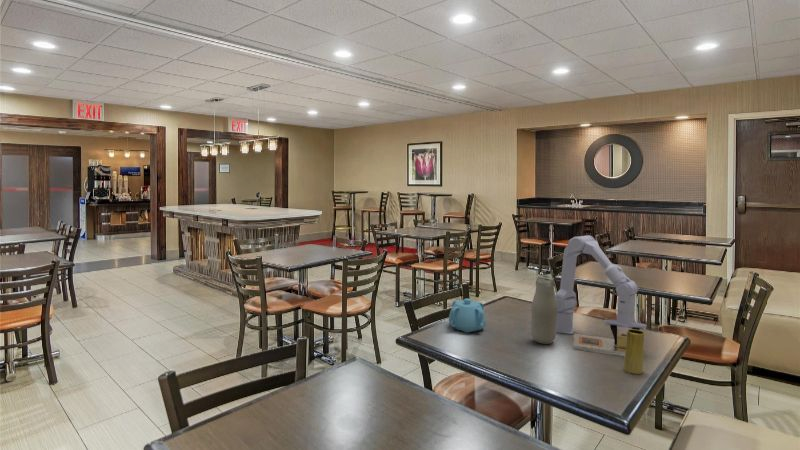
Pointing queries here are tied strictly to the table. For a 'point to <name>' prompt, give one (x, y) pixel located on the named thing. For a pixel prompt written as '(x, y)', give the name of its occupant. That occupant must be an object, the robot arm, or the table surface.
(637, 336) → the vase
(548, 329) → the glass bottle
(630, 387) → the table surface
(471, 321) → the decorative pot
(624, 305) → the robot arm
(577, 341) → the panel
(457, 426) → the table surface
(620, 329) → the smoothie
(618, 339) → the brass nut
